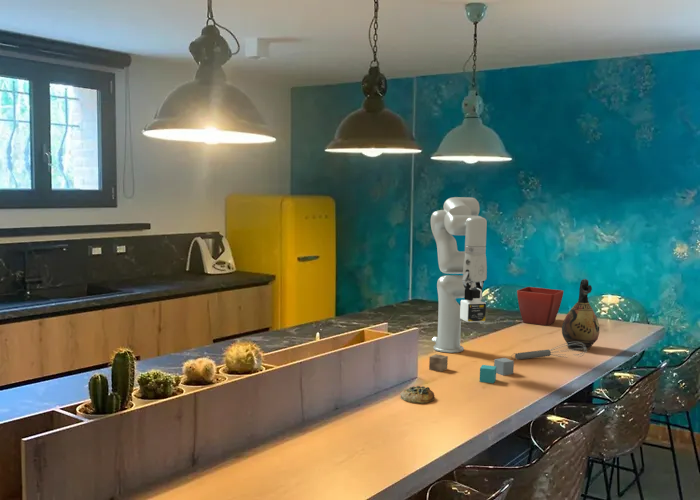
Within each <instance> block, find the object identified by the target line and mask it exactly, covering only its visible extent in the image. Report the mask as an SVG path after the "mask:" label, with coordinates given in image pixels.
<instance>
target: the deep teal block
mask: <svg viewBox="0 0 700 500" xmlns="http://www.w3.org/2000/svg"><path fill="white" fill-rule="evenodd" d="M496 381H497V373H496V366H494V365H488V364H482V365H480V368H479V382H480V383H486V384H487V383H488V384H494V383H495V382H496Z"/></svg>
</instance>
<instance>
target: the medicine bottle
mask: <svg viewBox="0 0 700 500" xmlns="http://www.w3.org/2000/svg"><path fill="white" fill-rule="evenodd" d="M472 290H473V300H472V301H470V300H465V299H461V300H460V304H459V305H460V319H461V321H464V322H467V323H485V322H486V317H487V316H486V314H487V313H486V312H487V311H486V310H487V302H485V301H482V299H483V289H482V290H481V289H479V288H472Z"/></svg>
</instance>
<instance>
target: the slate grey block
mask: <svg viewBox="0 0 700 500" xmlns="http://www.w3.org/2000/svg"><path fill="white" fill-rule="evenodd" d="M493 362H494V363H493V366H496V375H497V374H498V375H500V376H503V377H504V376H509V375H514V371H515V370H514V369H515V368H514V367H515V366H514V365H515V360H514V359H512V360H511V359H509V358H507V357H501V358H494V361H493Z"/></svg>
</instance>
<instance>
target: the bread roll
mask: <svg viewBox="0 0 700 500" xmlns="http://www.w3.org/2000/svg"><path fill="white" fill-rule="evenodd" d="M399 396H400V399H401V400H403V401H405V402H408V403H412V404H413V403H414V404H415V403H418V404H428V403H431V402H433V401H434V400H435V393H434V392H433V390H432V389H431V388H430V387H428V386H427V387H425V386H424V385H422V386H420V385H417V386H410V387H409V388H406V389H404V390H402V391H401V392H400V393H399Z"/></svg>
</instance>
